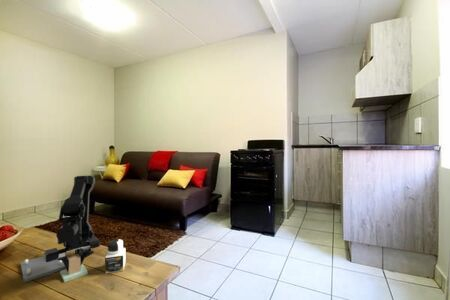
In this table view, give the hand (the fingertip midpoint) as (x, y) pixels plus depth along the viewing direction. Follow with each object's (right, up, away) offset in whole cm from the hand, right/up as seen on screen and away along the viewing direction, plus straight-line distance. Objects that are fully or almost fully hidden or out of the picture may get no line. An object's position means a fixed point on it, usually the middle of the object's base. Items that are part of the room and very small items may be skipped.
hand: (73, 268), depth 93 cm
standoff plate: (-17, -2, +5) cm, 18 cm away
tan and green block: (0, -2, 0) cm, 2 cm away
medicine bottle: (+15, -2, +4) cm, 16 cm away
